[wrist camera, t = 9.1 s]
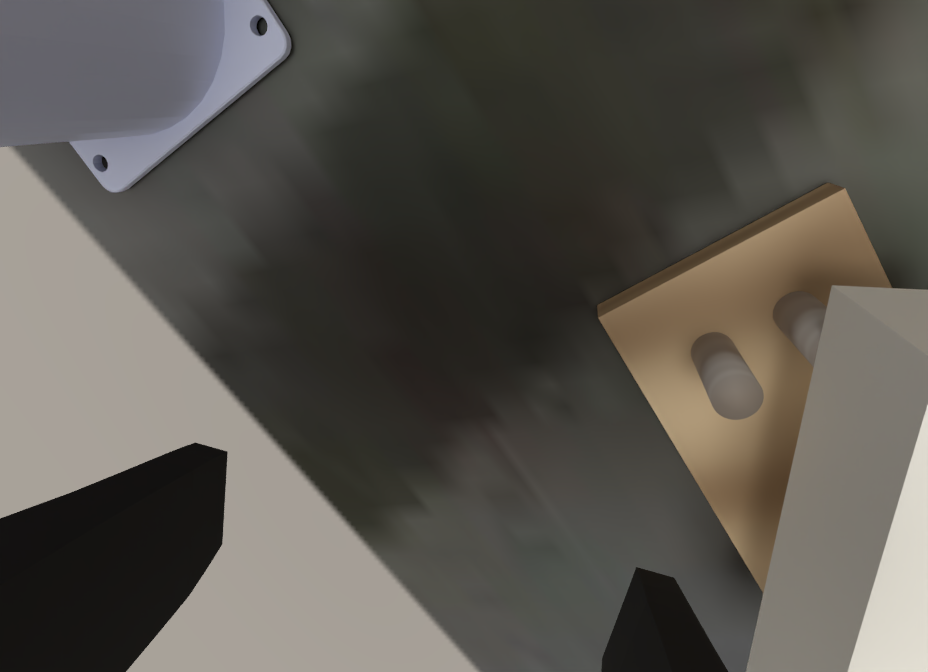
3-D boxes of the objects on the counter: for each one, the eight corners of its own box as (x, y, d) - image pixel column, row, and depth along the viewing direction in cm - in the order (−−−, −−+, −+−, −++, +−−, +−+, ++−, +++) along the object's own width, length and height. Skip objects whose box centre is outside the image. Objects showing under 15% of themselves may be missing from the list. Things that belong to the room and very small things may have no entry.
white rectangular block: (894, 705, 17) (992, 893, 13) (743, 683, 18) (791, 856, 14) (1035, 295, 13) (1243, 384, 9) (831, 285, 14) (939, 364, 10)
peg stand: (596, 305, 19) (601, 356, 15) (828, 182, 17) (901, 207, 13) (791, 631, 22) (836, 743, 18) (1010, 564, 20) (1115, 676, 16)
